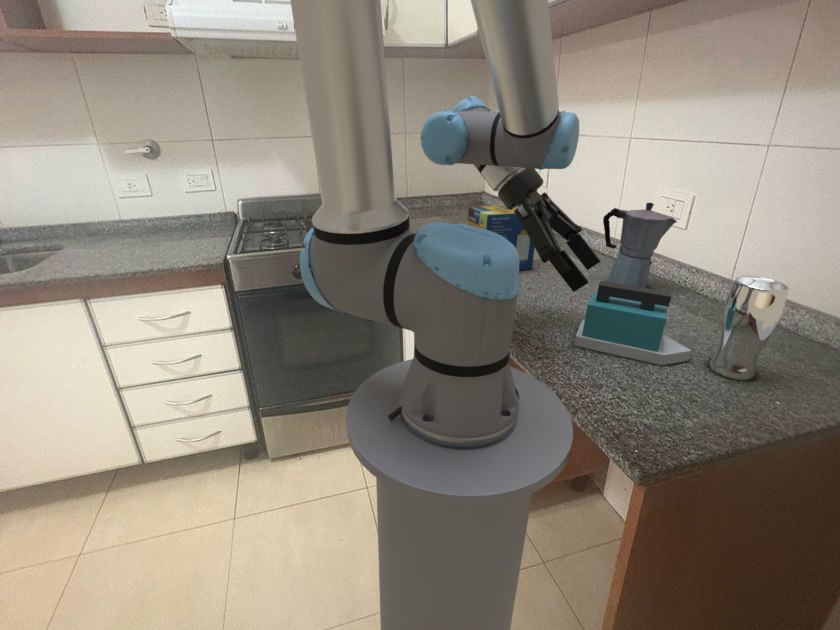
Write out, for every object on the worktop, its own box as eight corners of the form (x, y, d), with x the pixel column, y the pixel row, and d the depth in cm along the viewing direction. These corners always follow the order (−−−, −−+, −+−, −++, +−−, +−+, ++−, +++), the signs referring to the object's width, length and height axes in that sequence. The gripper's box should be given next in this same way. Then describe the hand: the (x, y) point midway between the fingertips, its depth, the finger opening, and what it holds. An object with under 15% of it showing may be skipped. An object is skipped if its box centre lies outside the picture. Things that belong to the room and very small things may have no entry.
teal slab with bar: (573, 345, 78) (584, 287, 74) (581, 328, 85) (591, 274, 80) (689, 371, 71) (708, 308, 66) (687, 350, 77) (705, 292, 73)
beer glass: (696, 361, 74) (722, 276, 67) (730, 357, 75) (760, 274, 69) (730, 384, 67) (763, 292, 61) (768, 379, 69) (804, 289, 63)
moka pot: (663, 295, 102) (686, 208, 94) (593, 288, 106) (609, 203, 97) (655, 282, 110) (676, 201, 102) (590, 275, 114) (605, 196, 106)
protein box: (464, 263, 122) (467, 206, 116) (512, 258, 127) (518, 204, 120) (481, 275, 113) (486, 214, 107) (533, 269, 118) (540, 211, 112)
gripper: (507, 169, 64) (596, 284, 64) (547, 159, 85) (615, 247, 84) (470, 202, 69) (554, 310, 68) (517, 186, 89) (582, 269, 89)
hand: (588, 275), depth 76 cm, fingers open, 13 cm apart
